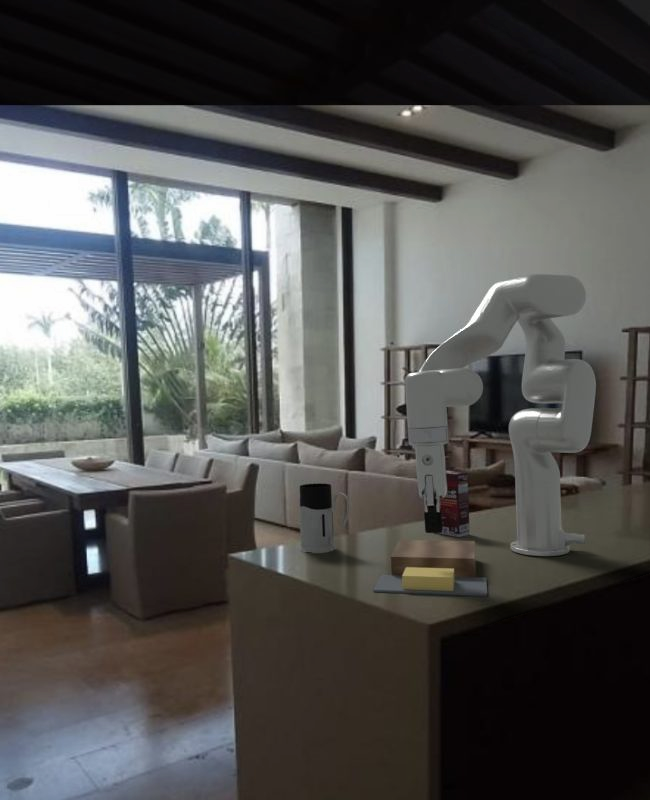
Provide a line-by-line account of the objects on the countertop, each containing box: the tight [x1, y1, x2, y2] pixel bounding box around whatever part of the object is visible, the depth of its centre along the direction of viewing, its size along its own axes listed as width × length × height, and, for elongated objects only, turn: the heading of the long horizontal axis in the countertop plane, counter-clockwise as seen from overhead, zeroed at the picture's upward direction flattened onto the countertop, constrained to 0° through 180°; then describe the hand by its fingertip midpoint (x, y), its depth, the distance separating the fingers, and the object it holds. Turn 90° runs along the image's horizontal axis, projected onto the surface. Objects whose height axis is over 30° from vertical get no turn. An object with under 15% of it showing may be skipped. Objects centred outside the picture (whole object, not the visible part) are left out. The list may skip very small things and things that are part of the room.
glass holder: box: [298, 482, 351, 554], centre depth 150 cm, size 9×14×15 cm, turn 50°
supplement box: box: [437, 470, 471, 538], centre depth 163 cm, size 9×5×16 cm, turn 41°
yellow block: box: [402, 567, 455, 591], centre depth 118 cm, size 9×6×2 cm, turn 76°
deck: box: [390, 539, 476, 578], centre depth 131 cm, size 16×15×4 cm
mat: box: [373, 574, 488, 597], centre depth 119 cm, size 20×10×1 cm, turn 77°
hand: (434, 531), depth 123 cm, fingers closed
